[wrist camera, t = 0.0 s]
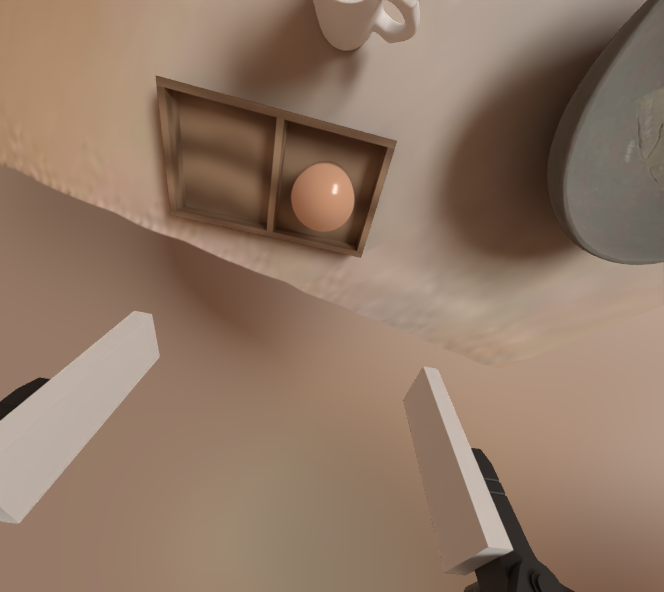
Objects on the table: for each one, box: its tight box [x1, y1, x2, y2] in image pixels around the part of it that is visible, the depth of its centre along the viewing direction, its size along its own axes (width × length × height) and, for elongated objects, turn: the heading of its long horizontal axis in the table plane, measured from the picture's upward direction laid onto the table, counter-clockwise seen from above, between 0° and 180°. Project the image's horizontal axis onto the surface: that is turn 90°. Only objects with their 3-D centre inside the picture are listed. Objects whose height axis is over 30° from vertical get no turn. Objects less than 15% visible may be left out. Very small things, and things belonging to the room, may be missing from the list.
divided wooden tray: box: [156, 76, 397, 258], centre depth 33 cm, size 15×26×3 cm, turn 77°
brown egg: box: [291, 161, 354, 232], centre depth 31 cm, size 7×7×7 cm
